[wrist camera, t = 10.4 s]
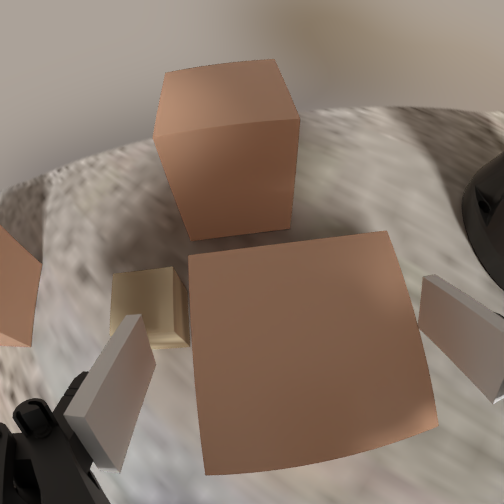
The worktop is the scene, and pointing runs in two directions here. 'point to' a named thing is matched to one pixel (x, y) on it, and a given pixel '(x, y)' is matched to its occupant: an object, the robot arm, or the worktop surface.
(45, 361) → the worktop surface
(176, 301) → the beige cube
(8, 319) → the tan peach cube
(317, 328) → the smooth terracotta cube
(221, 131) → the peach colored cube
